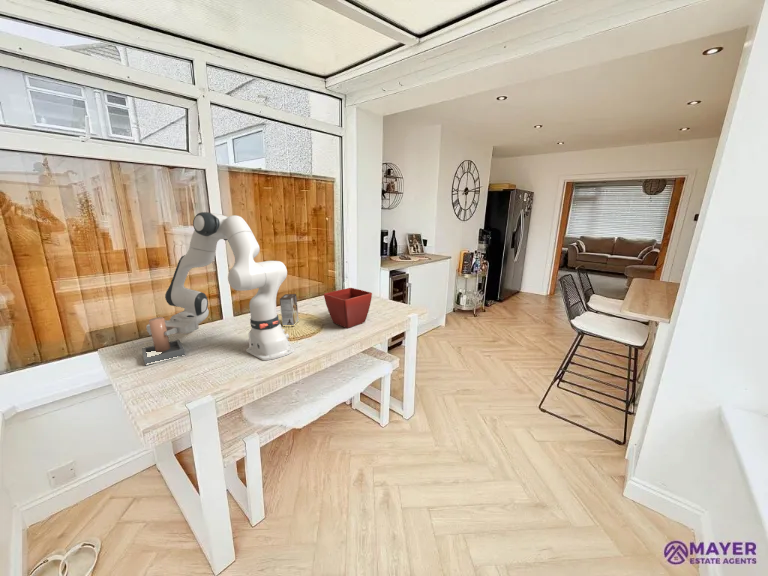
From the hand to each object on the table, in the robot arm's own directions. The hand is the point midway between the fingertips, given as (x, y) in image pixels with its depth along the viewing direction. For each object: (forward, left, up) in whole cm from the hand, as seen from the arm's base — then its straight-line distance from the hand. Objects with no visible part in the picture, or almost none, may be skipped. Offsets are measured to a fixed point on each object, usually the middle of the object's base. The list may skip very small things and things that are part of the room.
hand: (157, 333), depth 137 cm
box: (+1, -1, -10) cm, 10 cm away
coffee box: (-1, -59, -11) cm, 60 cm away
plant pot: (-21, -84, -11) cm, 87 cm away
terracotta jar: (+1, -1, -8) cm, 8 cm away
